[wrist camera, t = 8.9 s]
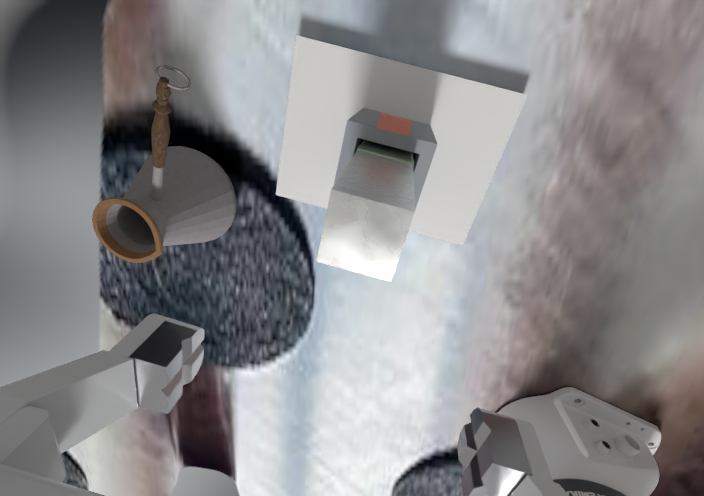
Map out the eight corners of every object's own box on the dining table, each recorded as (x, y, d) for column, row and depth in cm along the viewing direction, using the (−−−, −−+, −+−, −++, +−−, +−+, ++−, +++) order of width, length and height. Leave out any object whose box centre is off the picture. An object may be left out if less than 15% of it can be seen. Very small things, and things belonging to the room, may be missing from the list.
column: (413, 145, 30) (416, 211, 16) (399, 189, 32) (391, 283, 18) (367, 133, 30) (330, 187, 16) (356, 178, 32) (315, 262, 18)
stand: (523, 93, 33) (573, 104, 23) (461, 239, 41) (478, 296, 30) (300, 36, 34) (253, 21, 23) (279, 190, 41) (237, 229, 31)
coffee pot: (223, 248, 46) (148, 319, 33) (144, 198, 44) (32, 252, 31) (303, 106, 37) (242, 126, 23) (206, 35, 35) (82, 13, 22)
